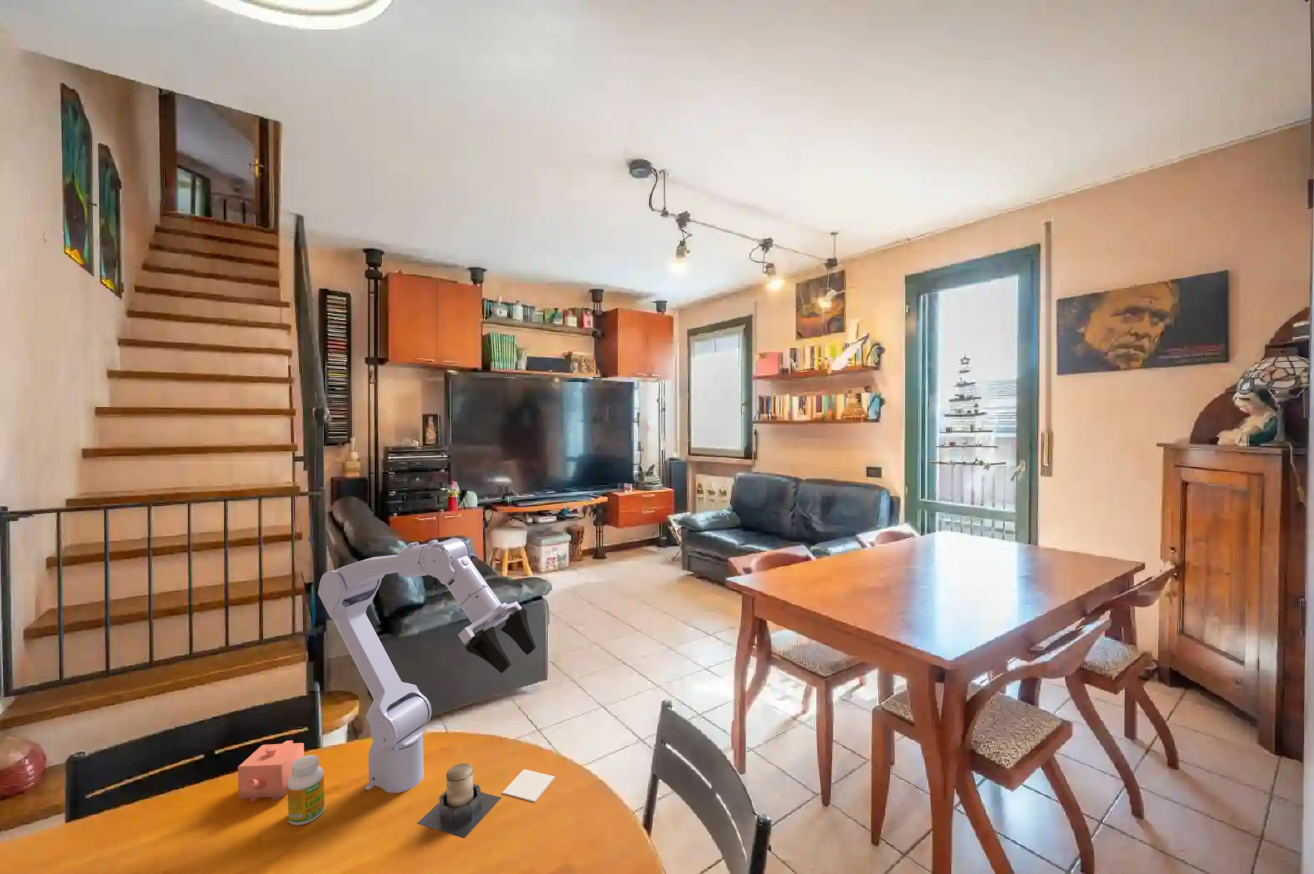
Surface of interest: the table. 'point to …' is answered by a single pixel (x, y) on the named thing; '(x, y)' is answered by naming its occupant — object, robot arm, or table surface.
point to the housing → (459, 814)
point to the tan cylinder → (459, 785)
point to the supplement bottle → (305, 790)
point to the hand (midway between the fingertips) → (519, 659)
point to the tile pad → (529, 785)
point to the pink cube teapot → (268, 771)
